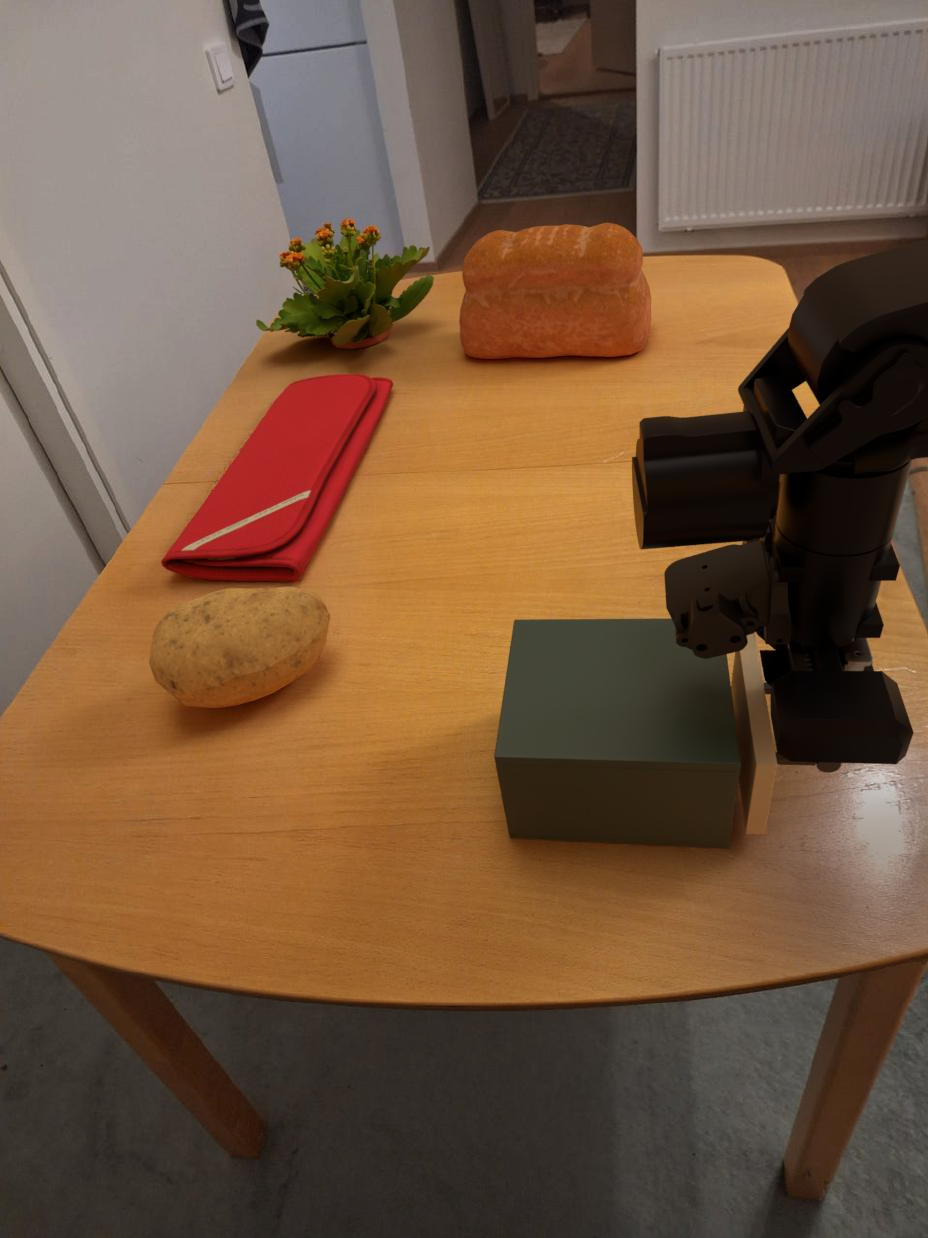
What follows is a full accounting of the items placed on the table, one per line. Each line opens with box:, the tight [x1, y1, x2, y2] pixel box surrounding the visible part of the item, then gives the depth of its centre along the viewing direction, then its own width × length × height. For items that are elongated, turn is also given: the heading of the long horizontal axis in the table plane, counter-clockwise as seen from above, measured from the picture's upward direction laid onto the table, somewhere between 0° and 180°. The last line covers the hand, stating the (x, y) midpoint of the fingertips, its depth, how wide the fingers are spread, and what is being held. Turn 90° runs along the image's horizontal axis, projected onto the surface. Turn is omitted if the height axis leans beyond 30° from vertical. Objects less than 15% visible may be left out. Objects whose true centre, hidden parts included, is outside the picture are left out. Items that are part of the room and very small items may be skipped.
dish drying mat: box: [160, 373, 394, 583], centre depth 96 cm, size 16×41×4 cm, turn 171°
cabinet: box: [493, 617, 741, 850], centre depth 56 cm, size 15×13×9 cm
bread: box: [458, 222, 652, 360], centre depth 109 cm, size 14×26×15 cm, turn 75°
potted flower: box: [255, 218, 435, 350], centre depth 120 cm, size 25×24×18 cm
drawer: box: [730, 632, 842, 836], centre depth 55 cm, size 18×11×7 cm, turn 82°
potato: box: [148, 586, 331, 709], centre depth 68 cm, size 10×14×10 cm
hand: (795, 717), depth 53 cm, fingers closed
